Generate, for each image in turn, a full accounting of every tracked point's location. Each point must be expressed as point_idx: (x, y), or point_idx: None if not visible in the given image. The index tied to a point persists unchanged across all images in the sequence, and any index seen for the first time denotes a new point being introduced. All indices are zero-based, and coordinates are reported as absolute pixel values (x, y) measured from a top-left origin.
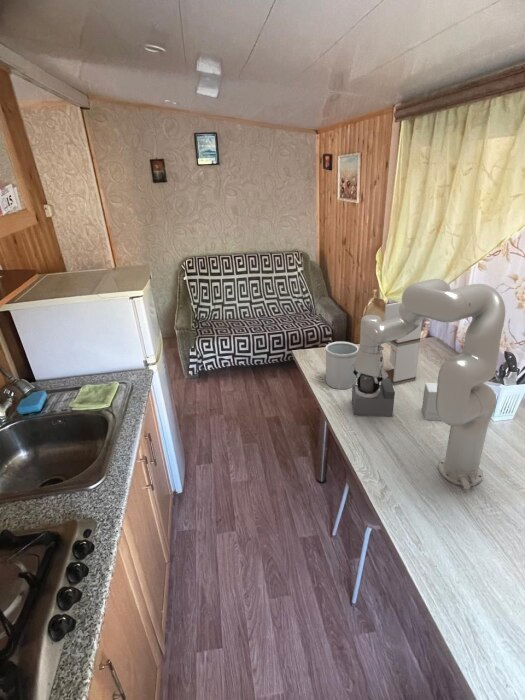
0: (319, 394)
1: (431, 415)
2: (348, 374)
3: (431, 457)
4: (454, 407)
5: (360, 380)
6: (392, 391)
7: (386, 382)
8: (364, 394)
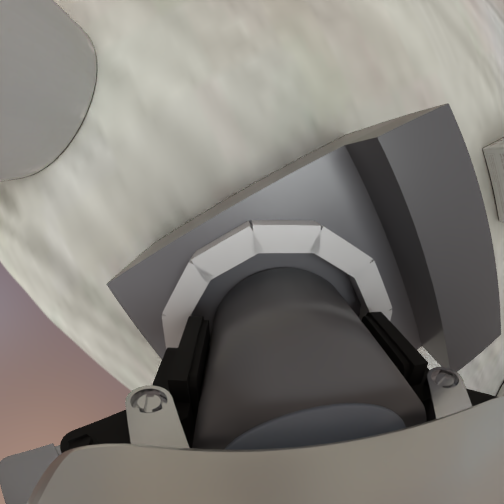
0: (14, 272)
1: None
2: (15, 120)
3: (491, 383)
4: None
5: None
6: (490, 334)
7: (448, 209)
8: None
